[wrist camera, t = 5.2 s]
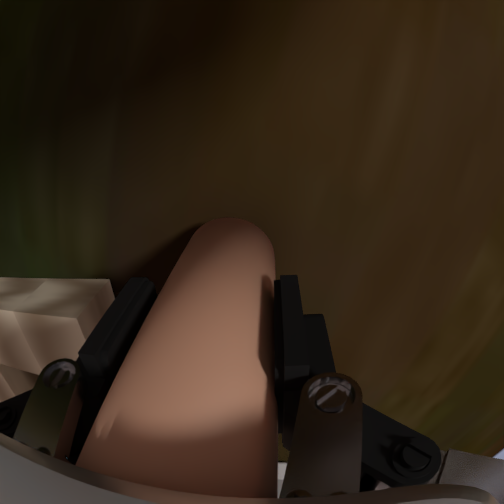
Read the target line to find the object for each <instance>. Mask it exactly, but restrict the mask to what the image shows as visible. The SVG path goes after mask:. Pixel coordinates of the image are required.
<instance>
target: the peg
mask: <svg viewBox="0 0 504 504" xmlns="http://www.w3.org/2000/svg"><path fill="white" fill-rule="evenodd" d="M274 280H275V255H274V250H273V246H272V244H271V242H270V240H269V238H268V237H267V236H266V234H265V233H264V232H263V231H262V230H261V229H260V228H258V227H257V226H256V225H254V224H252V223H251V222H249V221H246V220H243V219H240V218H234V217H223V218H218V219H214V220H211V221H209V222H207V223H205V224H204V225H202V226H201V227H200V228H199V229H198V230H197V231H196V232H195V233H194V234H193V236H192V237H191V239H190V241H189V243H188V244H187V246H186V248H185V249H184V251H183V253H182V255H181V256H180V258H179V260H178V261H177V263H176V265H175V267H174V268H173V270H172V272H171V274H170V275H169V277H168V279H167V281H166V282H165V284H164V286H163V288H162V290H161V291H160V293H159V295H158V297H157V299H156V300H155V302H154V304H153V306H152V308H151V310H150V312H149V313H148V315H147V317H146V319H145V321H144V323H143V325H142V326H141V328H140V330H139V332H138V334H137V336H136V338H135V340H134V342H133V344H132V346H131V347H130V349H129V351H128V353H127V355H126V357H125V359H124V361H123V363H122V365H121V367H120V369H119V371H118V373H117V375H116V377H115V379H114V381H113V383H112V385H111V387H110V390H109V392H108V394H107V396H106V398H105V400H104V402H103V404H102V406H101V408H100V411H99V413H98V415H97V417H96V419H95V421H94V424H93V426H92V428H91V430H90V433H89V435H88V437H87V439H86V442H85V444H84V446H83V448H82V451H81V453H80V455H79V458H78V460H77V462H76V465H75V466H78V467H81V468H84V469H87V470H90V471H93V472H97V473H100V474H103V475H107V476H110V477H114V478H117V479H121V480H125V481H129V482H133V483H138V484H142V485H147V486H152V487H157V488H162V489H168V490H173V491H180V492H187V493H194V494H202V495H211V496H222V497H237V498H278V405H277V400H276V397H275V343H274Z"/></svg>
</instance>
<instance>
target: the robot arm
mask: <svg viewBox="0 0 504 504" xmlns="http://www.w3.org/2000/svg"><path fill="white" fill-rule="evenodd" d="M156 299H157V294H156V290H155V286H154V283H153V282H152V281H149V279H148V278H147V277H131V278H130V279H129V281H128V282H127V283H126V285H125V286H124V287H123V289H122V290H121V291H120V293H119V294H118V295H117V297H116V298H115V300H114V301H113V302H112V304H111V305H110V307H109V308H108V309H107V311H106V312H105V314H104V315H103V316H102V318H101V319H100V321H99V322H98V324H97V325H96V326H95V328H94V329H93V331H92V332H91V334H90V335H89V337H88V338H87V340H86V341H85V343H84V344H83V346H82V347H81V349H80V350H79V352H78V355H79V357H78V358H77V360H76V361H74V360H72V359H68V358H62V359H57V360H54V361H52V362H51V363H49V364H47V365H46V366H45V367H44V368H43V369H42V371H41V373H40V374H39V376H38V379H37V381H36V383H35V385H34V387H33V389H31V390H29V391H26V392H24V393H22V394H19V395H17V396H15V397H12V398H10V399H7V400H5V401H3V402H0V504H504V460H502V459H497V458H491V457H486V456H481V455H476V454H471V453H467V452H462V451H458V450H454V449H449V450H448V451H447V452H446V451H442V450H440V449H439V447H438V446H437V445H436V443H435V442H434V441H432V440H431V439H430V438H428V437H426V436H424V435H422V434H420V433H418V432H416V431H414V430H412V429H410V428H409V427H407V426H405V425H403V424H401V423H399V422H397V421H395V420H393V419H391V418H389V417H388V416H386V415H384V414H382V413H380V412H378V411H376V410H375V409H373V408H371V407H369V406H367V405H366V404H364V403H362V391H361V388H360V386H359V385H358V383H357V382H356V381H355V380H353V379H352V378H351V377H349V376H346V375H344V374H341V373H336V371H335V366H334V361H333V356H332V352H331V347H330V342H329V338H328V333H327V329H326V324H325V320H324V316H323V314H307V315H303V310H302V304H301V297H300V290H299V284H298V277H297V275H280V280H274V343H275V397H276V400H277V405H278V433H282V443H283V446H284V447H285V448H286V449H287V450H289V451H290V452H289V457H288V462H287V466H286V471H285V475H284V479H283V484H282V488H281V492H280V496H279V498H237V497H222V496H211V495H202V494H194V493H187V492H180V491H173V490H168V489H162V488H157V487H152V486H147V485H142V484H138V483H133V482H129V481H125V480H121V479H117V478H114V477H110V476H107V475H103V474H100V473H97V472H93V471H90V470H87V469H84V468H81V467H78V466H75V465H76V462H77V460H78V458H79V455H80V453H81V451H82V448H83V446H84V444H85V442H86V439H87V437H88V435H89V433H90V430H91V428H92V426H93V424H94V421H95V419H96V417H97V415H98V413H99V411H100V408H101V406H102V404H103V402H104V400H105V398H106V396H107V394H108V392H109V390H110V387H111V385H112V383H113V381H114V379H115V377H116V375H117V373H118V371H119V369H120V367H121V365H122V363H123V361H124V359H125V357H126V355H127V353H128V351H129V349H130V347H131V346H132V344H133V342H134V340H135V338H136V336H137V334H138V332H139V330H140V328H141V326H142V325H143V323H144V321H145V319H146V317H147V315H148V313H149V312H150V310H151V308H152V306H153V304H154V302H155V300H156Z"/></svg>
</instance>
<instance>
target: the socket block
mask: <svg viewBox="0 0 504 504" xmlns="http://www.w3.org/2000/svg"><path fill="white" fill-rule="evenodd" d="M114 300H115V297H114V294H113V290H112V287H111V283H110V279H46V278H4V277H0V402H3V401H5V400H7V399H10V398H12V397H15V396H17V395H19V394H22V393H24V392H26V391H29V390H31V389H33V387H34V385H35V383H36V381H37V379H38V376H39V374H40V373H41V371H42V369H43V368H44V367H45V366H46V365H47V364H49V363H51V362H52V361H54V360H57V359H62V358H68V359H72V360H74V361H76V360H77V358H78V357H79V355H78V352H79V350H80V349H81V347H82V346H83V344H84V343H85V341H86V340H87V338H88V337H89V335H90V334H91V332H92V331H93V329H94V328H95V326H96V325H97V324H98V322H99V321H100V319H101V318H102V316H103V315H104V314H105V312H106V311H107V309H108V308H109V307H110V305H111V304H112V302H113V301H114Z"/></svg>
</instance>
